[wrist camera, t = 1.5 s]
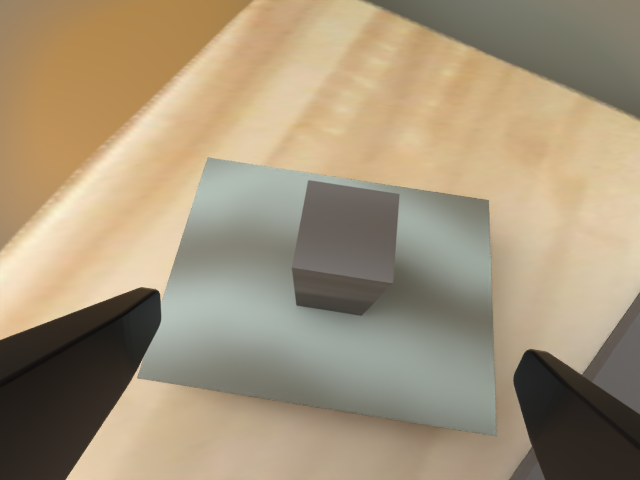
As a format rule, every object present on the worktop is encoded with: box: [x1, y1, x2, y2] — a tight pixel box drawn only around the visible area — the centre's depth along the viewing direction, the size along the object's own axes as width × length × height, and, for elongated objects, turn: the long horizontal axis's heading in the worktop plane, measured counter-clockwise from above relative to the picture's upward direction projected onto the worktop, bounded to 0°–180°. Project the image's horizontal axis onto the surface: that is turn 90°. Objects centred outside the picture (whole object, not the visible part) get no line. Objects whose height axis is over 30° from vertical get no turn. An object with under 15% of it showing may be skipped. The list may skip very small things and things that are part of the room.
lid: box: [137, 158, 497, 436], centre depth 14 cm, size 11×15×8 cm
